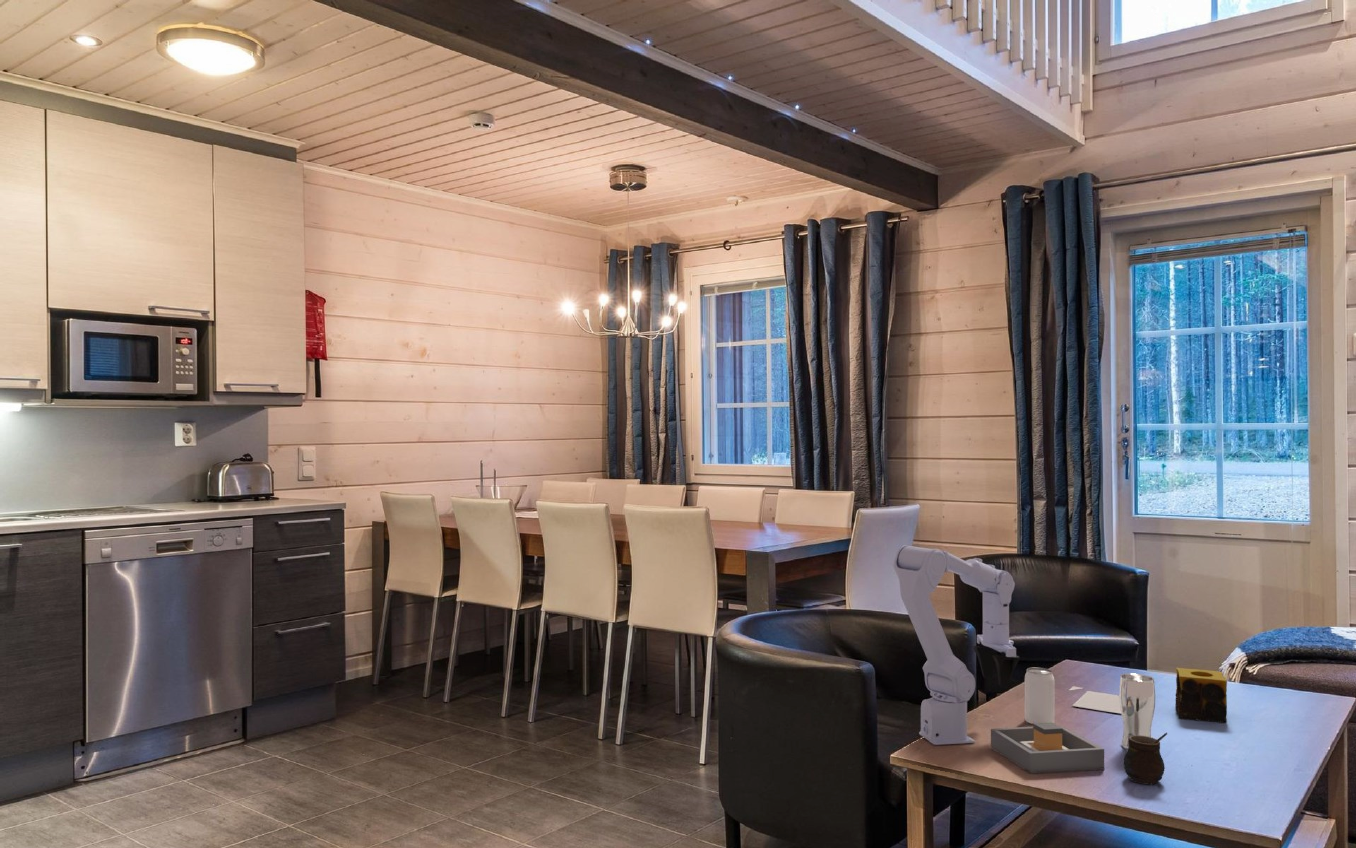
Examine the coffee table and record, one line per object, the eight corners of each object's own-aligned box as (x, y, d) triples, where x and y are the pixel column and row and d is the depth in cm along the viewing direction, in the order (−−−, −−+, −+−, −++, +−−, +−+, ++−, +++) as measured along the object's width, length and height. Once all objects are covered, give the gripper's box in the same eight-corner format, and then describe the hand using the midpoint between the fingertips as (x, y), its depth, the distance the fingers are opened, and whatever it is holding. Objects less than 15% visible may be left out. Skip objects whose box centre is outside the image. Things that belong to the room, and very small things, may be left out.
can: (1056, 727, 221) (1056, 674, 221) (1026, 725, 223) (1026, 673, 223) (1051, 719, 228) (1051, 668, 228) (1022, 717, 229) (1022, 666, 229)
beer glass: (1152, 744, 209) (1152, 674, 210) (1157, 754, 203) (1157, 682, 203) (1117, 741, 212) (1117, 672, 212) (1121, 750, 205) (1120, 679, 205)
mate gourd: (1122, 772, 192) (1122, 721, 192) (1164, 777, 190) (1165, 726, 190) (1123, 784, 186) (1124, 731, 186) (1167, 790, 183) (1168, 737, 183)
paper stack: (1032, 702, 243) (1032, 699, 243) (1057, 681, 263) (1057, 678, 263) (1133, 718, 229) (1133, 715, 229) (1152, 695, 250) (1152, 692, 250)
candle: (1178, 719, 228) (1178, 676, 228) (1174, 707, 238) (1174, 666, 238) (1227, 724, 224) (1227, 680, 225) (1221, 712, 234) (1221, 670, 234)
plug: (1044, 759, 198) (1044, 729, 198) (1033, 752, 202) (1033, 723, 202) (1062, 757, 199) (1062, 728, 199) (1051, 751, 203) (1051, 722, 203)
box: (1030, 773, 191) (1030, 753, 191) (990, 747, 207) (990, 729, 207) (1104, 769, 194) (1104, 749, 194) (1059, 743, 210) (1059, 725, 210)
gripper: (1028, 627, 215) (1028, 689, 215) (996, 615, 229) (996, 672, 229) (999, 629, 214) (999, 690, 214) (968, 616, 228) (968, 674, 228)
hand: (996, 681), depth 221 cm, fingers open, 7 cm apart
